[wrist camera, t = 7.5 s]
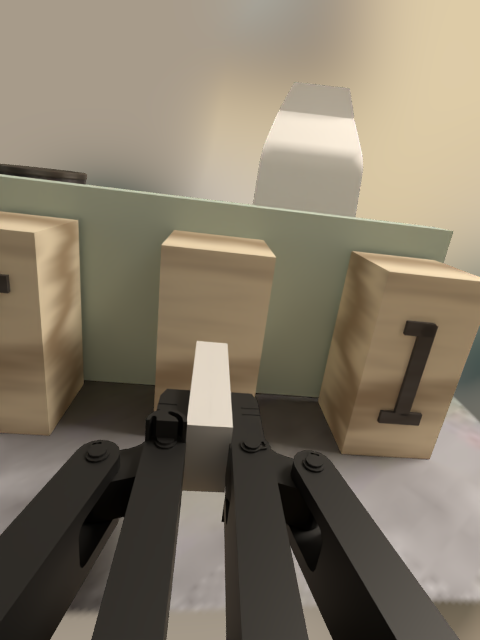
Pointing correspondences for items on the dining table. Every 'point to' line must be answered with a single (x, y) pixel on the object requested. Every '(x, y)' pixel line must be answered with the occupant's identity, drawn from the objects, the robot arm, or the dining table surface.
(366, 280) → the numbered block 1
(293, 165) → the milk
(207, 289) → the plain block
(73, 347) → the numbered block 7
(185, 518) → the dining table surface
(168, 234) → the rack board
